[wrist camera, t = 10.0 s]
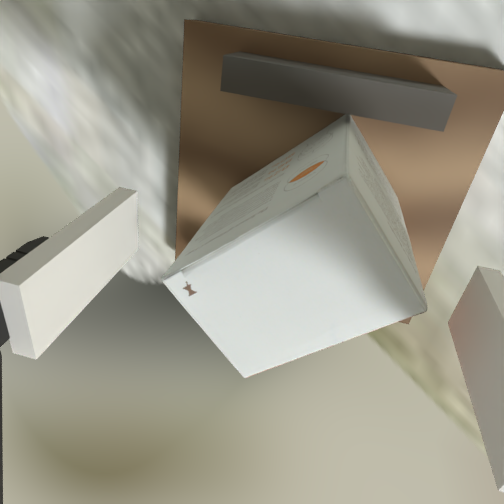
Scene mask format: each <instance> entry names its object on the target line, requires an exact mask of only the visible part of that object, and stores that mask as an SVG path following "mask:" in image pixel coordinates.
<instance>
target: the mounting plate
mask: <svg viewBox="0 0 504 504" xmlns="http://www.w3.org/2000/svg"><path fill="white" fill-rule="evenodd" d="M503 111H504V70H502V69H495V68H489V67H483V66H477V65H471V64H464V63H458V62H452V61H446V60H440V59H434V58H427V57H421V56H415V55H409V54H403V53H396V52H390V51H384V50H378V49H372V48H366V47H359V46H353V45H347V44H341V43H335V42H328V41H322V40H316V39H310V38H304V37H298V36H291V35H285V34H279V33H273V32H267V31H261V30H254V29H248V28H242V27H236V26H230V25H223V24H217V23H211V22H205V21H199V20H186V19H184V45H183V71H182V97H181V123H180V149H179V174H178V200H177V226H176V252H175V260H176V259H177V258H178V256H179V255H180V254H181V253H182V251H183V250H184V249H185V248H186V246H187V245H188V243H189V242H190V241H191V239H192V238H193V237H194V235H195V234H196V233H197V231H198V230H199V229H200V228H201V226H202V225H203V224H204V222H205V221H206V220H207V218H208V217H209V216H210V214H211V213H212V212H213V211H214V209H215V208H216V207H217V205H218V204H219V203H220V202H221V200H222V199H223V198H224V197H225V195H226V194H227V193H228V192H229V190H230V189H231V188H232V187H234V186H235V185H237V184H239V183H240V182H242V181H244V180H245V179H247V178H248V177H250V176H251V175H253V174H254V173H256V172H258V171H259V170H261V169H262V168H264V167H265V166H267V165H268V164H270V163H271V162H273V161H274V160H276V159H277V158H279V157H281V156H282V155H284V154H285V153H287V152H288V151H290V150H291V149H293V148H295V147H296V146H298V145H299V144H301V143H302V142H304V141H305V140H307V139H308V138H310V137H311V136H313V135H314V134H316V133H318V132H319V131H321V130H322V129H324V128H325V127H327V126H328V125H330V124H331V123H333V122H335V121H336V120H338V119H339V118H341V117H342V116H343V115H345V114H348V115H351V117H352V119H353V120H354V122H355V124H356V125H357V127H358V129H359V130H360V132H361V134H362V135H363V137H364V139H365V141H366V142H367V144H368V146H369V148H370V149H371V151H372V153H373V154H374V156H375V158H376V160H377V161H378V163H379V165H380V167H381V168H382V170H383V172H384V174H385V176H386V177H387V179H388V181H389V183H390V184H391V186H392V188H393V190H394V192H395V194H396V195H397V197H398V201H399V204H400V207H401V211H402V214H403V218H404V222H405V226H406V229H407V233H408V236H409V239H410V242H411V247H412V251H413V255H414V258H415V262H416V266H417V269H418V273H419V276H420V280H421V283H422V287H423V291H424V289H425V286H426V284H427V282H428V280H429V277H430V275H431V273H432V271H433V268H434V266H435V264H436V262H437V259H438V257H439V255H440V253H441V250H442V248H443V246H444V244H445V241H446V239H447V237H448V235H449V232H450V230H451V228H452V226H453V223H454V221H455V219H456V217H457V214H458V212H459V210H460V208H461V205H462V203H463V201H464V199H465V196H466V194H467V192H468V190H469V188H470V185H471V183H472V181H473V179H474V176H475V174H476V172H477V170H478V167H479V165H480V163H481V161H482V158H483V156H484V154H485V152H486V149H487V147H488V145H489V143H490V140H491V138H492V136H493V134H494V131H495V129H496V127H497V125H498V122H499V120H500V118H501V116H502V113H503ZM411 318H412V317H410V318H407V319H404V320H401V321H399V322H401V323H405V324H409V322H410V320H411Z"/></svg>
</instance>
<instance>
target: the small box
mask: <svg viewBox="0 0 504 504" xmlns="http://www.w3.org/2000/svg"><path fill="white" fill-rule="evenodd" d="M162 282H163V283H164V284H165V285H166V286H167V288H168V289H169V290H170V291H171V292H172V294H173V295H174V296H175V297H176V298H177V300H178V301H179V302H180V303H181V304H182V306H183V307H184V308H185V309H186V310H187V312H188V313H189V314H190V315H191V316H192V318H193V319H194V320H195V321H196V322H197V323H198V325H199V326H200V327H201V328H202V329H203V330H204V332H205V333H206V334H207V335H208V336H209V338H210V339H211V340H212V341H213V342H214V343H215V345H216V346H217V347H218V348H219V349H220V351H221V352H222V353H223V354H224V355H225V356H226V357H227V359H228V360H229V361H230V362H231V363H232V365H234V367H235V368H236V369H237V370H238V371H239V372H240V373H241V375H242V376H243V377H244V378H247V377H250V376H252V375H255V374H258V373H260V372H263V371H266V370H268V369H271V368H274V367H276V366H280V365H282V364H285V363H287V362H290V361H292V360H295V359H298V358H301V357H303V356H306V355H309V354H312V353H314V352H317V351H320V350H322V349H325V348H328V347H331V346H333V345H336V344H339V343H341V342H344V341H347V340H349V339H352V338H355V337H357V336H360V335H363V334H366V333H369V332H372V331H374V330H377V329H380V328H382V327H385V326H388V325H390V324H393V323H396V322H399V321H401V320H404V319H407V318H410V317H413V316H415V315H418V314H421V313H424V312H426V311H427V302H426V298H425V294H424V291H423V287H422V283H421V280H420V276H419V273H418V269H417V266H416V262H415V258H414V255H413V251H412V247H411V242H410V239H409V236H408V233H407V229H406V226H405V222H404V218H403V214H402V211H401V207H400V204H399V201H398V197H397V195H396V194H395V192H394V190H393V188H392V186H391V184H390V183H389V181H388V179H387V177H386V176H385V174H384V172H383V170H382V168H381V167H380V165H379V163H378V161H377V160H376V158H375V156H374V154H373V153H372V151H371V149H370V148H369V146H368V144H367V142H366V141H365V139H364V137H363V135H362V134H361V132H360V130H359V129H358V127H357V125H356V124H355V122H354V120H353V119H352V117H351V115H348V114H345V115H343V116H342V117H341V118H339V119H338V120H336V121H335V122H333V123H331V124H330V125H328V126H327V127H325V128H324V129H322V130H321V131H319V132H318V133H316V134H314V135H313V136H311V137H310V138H308V139H307V140H305V141H304V142H302V143H301V144H299V145H298V146H296V147H295V148H293V149H291V150H290V151H288V152H287V153H285V154H284V155H282V156H281V157H279V158H277V159H276V160H274V161H273V162H271V163H270V164H268V165H267V166H265V167H264V168H262V169H261V170H259V171H258V172H256V173H254V174H253V175H251V176H250V177H248V178H247V179H245V180H244V181H242V182H240V183H239V184H237V185H235V186H234V187H232V188H231V189H230V190H229V192H228V193H227V194H226V195H225V197H224V198H223V199H222V200H221V202H220V203H219V204H218V205H217V207H216V208H215V209H214V211H213V212H212V213H211V214H210V216H209V217H208V218H207V220H206V221H205V222H204V224H203V225H202V226H201V228H200V229H199V230H198V231H197V233H196V234H195V235H194V237H193V238H192V239H191V241H190V242H189V243H188V245H187V246H186V248H185V249H184V250H183V251H182V253H181V254H180V255H179V256H178V258H177V259H176V260H175V262H174V263H173V264H172V266H171V267H170V268H169V269H168V271H167V272H166V273H165V274H164V276H163V277H162Z"/></svg>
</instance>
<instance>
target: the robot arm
mask: <svg viewBox="0 0 504 504" xmlns="http://www.w3.org/2000/svg"><path fill="white" fill-rule="evenodd" d="M138 250H139V232H138V196H137V191H135V190H131V189H126V188H122V187H119V188H118V189H116V190H115V191H113V192H112V193H111V194H109V195H108V196H107V197H105V198H104V199H102V200H101V201H100V202H98V203H97V204H95V205H94V206H93V207H91V208H90V209H89V210H87V211H86V212H84V213H83V214H82V215H80V216H79V217H78V218H76V219H75V220H74V221H72V222H71V223H69V224H68V225H66V226H65V227H64V228H62V229H61V230H60V231H58V232H57V233H55V234H54V235H53V236H51V237H50V238H48V237H44V236H43V237H40V238H38V239H35V240H33V241H30V242H27V243H26V244H24V245H23V246H21V247H20V248H19V249H17V250H16V252H13V253H12V254H10V255H8V256H7V257H6V259H3V260H1V261H0V347H1V346H2V345H3V344H4V343H5V342H6V341H7V340H8V339H9V340H10V343H11V347H12V351H13V353H15V354H18V355H22V356H25V357H29V358H33V359H37V358H38V357H39V356H40V355H41V354H42V353H43V351H44V350H46V349H47V347H48V346H49V345H50V344H51V343H52V342H53V341H54V340H55V339H56V338H57V337H58V335H59V334H60V333H61V332H62V331H63V330H64V329H65V328H66V327H67V326H68V325H69V324H70V323H71V322H72V320H73V319H74V318H75V317H76V316H77V315H78V314H79V313H80V312H81V311H82V310H83V309H84V308H85V307H86V305H87V304H88V303H89V302H90V301H91V300H92V299H93V298H94V297H95V296H96V294H98V293H99V291H100V290H101V289H102V288H103V287H104V286H105V285H106V284H107V283H108V282H109V281H110V280H111V278H113V276H114V275H115V274H116V273H117V272H118V271H119V270H120V269H121V268H122V267H123V266H124V265H125V264H126V262H127V261H128V260H129V259H130V258H131V257H132V256H133V255H134V254H135V253H136V252H137V251H138ZM448 325H449V328H450V332H451V335H452V338H453V342H454V345H455V348H456V352H457V355H458V358H459V362H460V365H461V368H462V372H463V375H464V378H465V382H466V385H467V388H468V392H469V395H470V398H471V402H472V405H473V408H474V412H475V415H476V418H477V422H478V425H479V428H480V432H481V435H482V438H483V442H484V445H485V448H486V452H487V455H488V458H489V462H490V465H491V468H492V472H493V475H494V478H495V482H496V484H497V488H498V491H501V492H504V277H503V275H502V274H501V272H500V271H499V270H494V269H490V268H485V267H481V266H477V268H476V270H475V272H474V274H473V276H472V278H471V280H470V282H469V283H468V285H467V287H466V289H465V291H464V293H463V295H462V297H461V299H460V301H459V302H458V304H457V306H456V308H455V310H454V312H453V314H452V316H451V318H450V320H449V321H448ZM2 462H3V461H2V355H1V352H0V504H3V470H2V469H3V465H2V464H3V463H2Z"/></svg>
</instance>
